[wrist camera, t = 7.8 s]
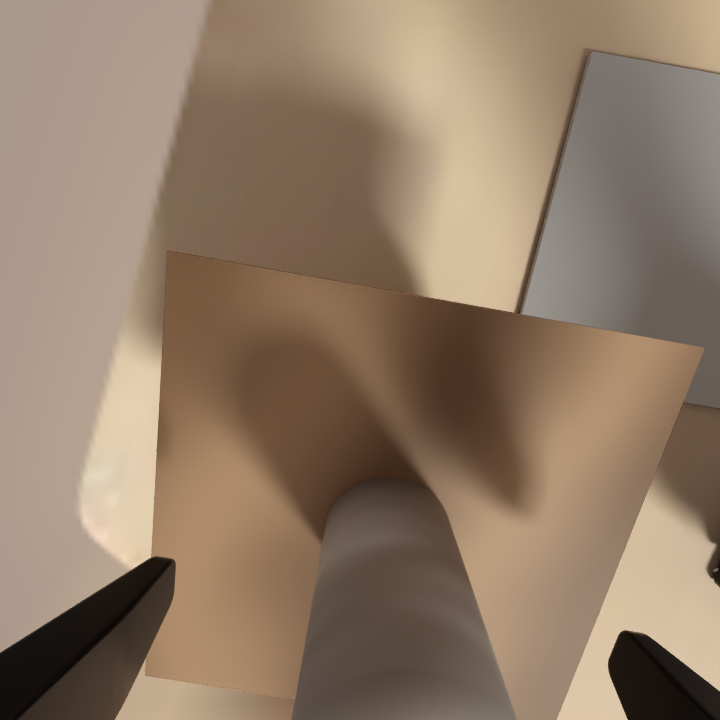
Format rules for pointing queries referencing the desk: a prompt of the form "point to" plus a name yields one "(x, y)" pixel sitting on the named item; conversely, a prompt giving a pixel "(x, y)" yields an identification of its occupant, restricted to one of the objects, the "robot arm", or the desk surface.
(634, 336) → the lid
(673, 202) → the tray
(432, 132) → the desk surface
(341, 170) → the desk surface
